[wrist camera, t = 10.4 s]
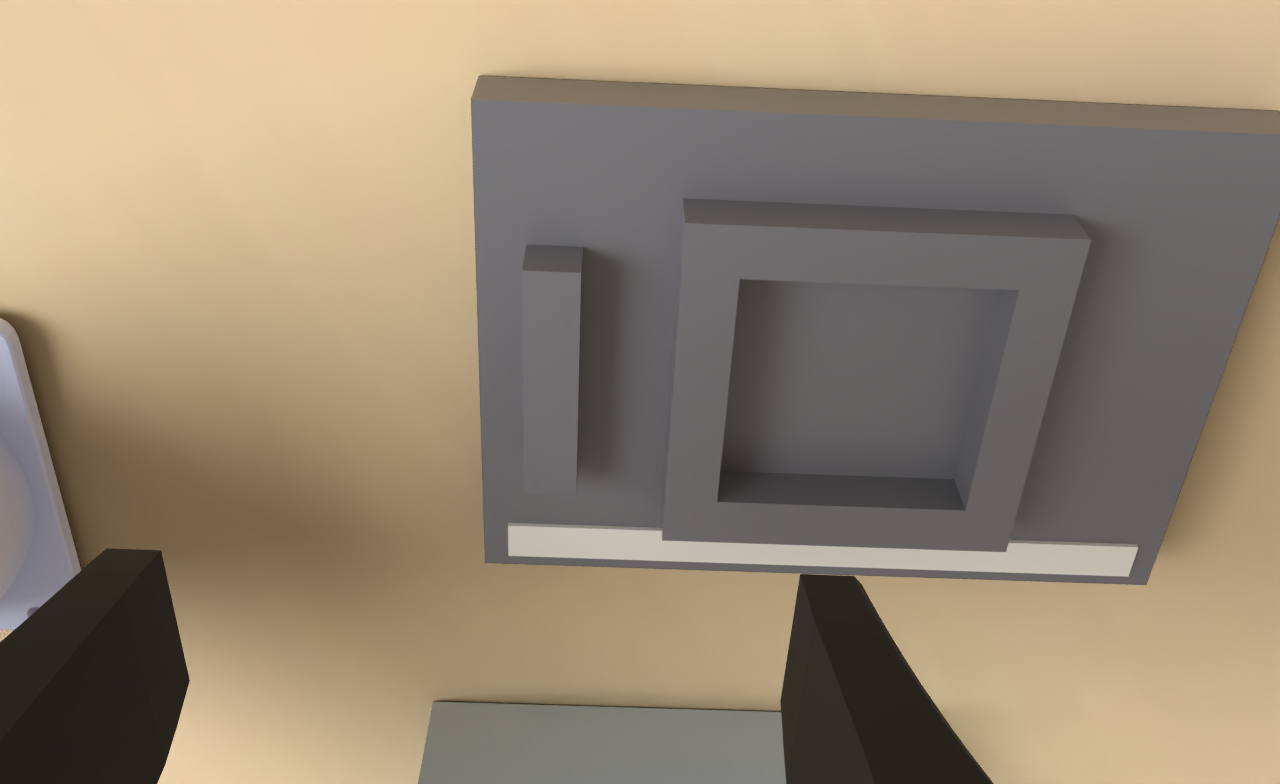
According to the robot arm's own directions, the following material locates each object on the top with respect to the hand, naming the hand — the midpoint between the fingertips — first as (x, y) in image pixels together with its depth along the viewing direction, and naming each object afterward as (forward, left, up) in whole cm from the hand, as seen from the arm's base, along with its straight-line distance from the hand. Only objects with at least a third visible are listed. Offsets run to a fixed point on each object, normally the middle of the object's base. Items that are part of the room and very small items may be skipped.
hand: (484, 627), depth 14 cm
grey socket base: (+6, -2, -10) cm, 12 cm away
